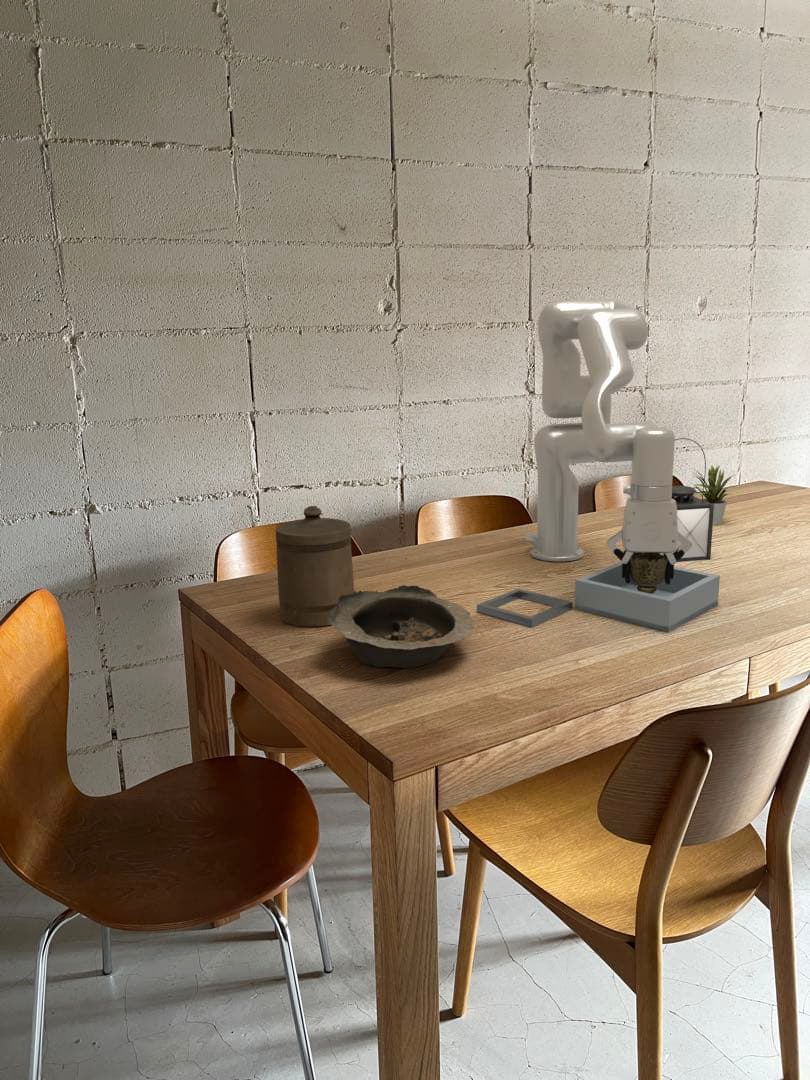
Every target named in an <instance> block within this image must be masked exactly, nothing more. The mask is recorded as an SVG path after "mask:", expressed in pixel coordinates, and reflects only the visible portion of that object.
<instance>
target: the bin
mask: <svg viewBox="0 0 810 1080" xmlns="http://www.w3.org/2000/svg"><path fill="white" fill-rule="evenodd" d="M720 579H721V576H720V575H718V574H714V573H709V572H704V571H703V572H702V571H698V570H692V569H687V568H682V567H676V566H674V577H673V579H670V584H666V582H665V580H664V579H663V581H662V582H661V583H660V584H659V585H657V586H656V588H657V590H656V592H655V593H653V594H649V593H645V592H640V591H638V590H637V586H638V585H637V584H636V583H634V581H633V580H632V578H631V574H630V583H626V581H625V578H622V561H621V560H620V561H618V562H616V563H613V564H610V565H608V566H606V567H604V568H602V569H599V570H596V571H594V572H591V573H590V574H587V575H583V576H581V577H579V578H576V579H575V582H574V583H575V587H574V591H575V592H574V610H577V611H581V612H585V613H590V614H594V615H597V616H600V617H605V618H610V619H613V620H616V621H617V620H618V621H621V622H626V623H629V624H633V625H636V626H640V627H645V628H649V629H653V630H656V631H662V632H665V633H670V632H672V631H674V630H676V629H677V628H679V627H681V626H682V625H685V624H686V623H688V622H690V621H691V620H693V619H695V618H697V617H699V616H700V615H702V614H705V612H707V611H710V610H711V609H713V608H714V607H716V606H718V605H719V595H720V594H719V593H720Z"/></svg>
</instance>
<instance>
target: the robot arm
mask: <svg viewBox="0 0 810 1080" xmlns="http://www.w3.org/2000/svg"><path fill="white" fill-rule="evenodd" d="M648 334H649V327H648V324H647V319H646V318H645V316H644V315H643V313H642V312H641V311H640V310H639V309H637V308H635V307H633V306H631V305H629V304H625V303H624V302H622V301H619V300H617V299H611V298H594V299H592V298H591V299H588V298H587V299H585V298H584V299H581V298H579V299H577V298H576V299H563V300H556V301H552V302H550V303H549V302H548V303H547V304H546V305H544V306H543V308H542V309H541V311H540V312H539V316H538V321H537V335H538V340H539V344H540V348H541V354H542V377H541V378H542V381H541V382H542V383H541V406H542V411H543V413H544V415H545V416H547V417H548V418H551V419H577V418H581V422H574V423H573V422H569V423H568V422H567V423H555V424H548V425H545V426H543V427H541V428H540V429H538V431H537V432H535V433H536V434H535V435H534V440H533V447H534V448H533V449H534V455H535V460H536V470H537V471H536V472H537V529H536V530H537V533H532V532H529V533H528V534H527V535H526V537H525V542H526V543H529V544H533V547H532V548H530V555H531V557H532V558H535V559H538V560H541V561H547V562H557V563H559V562H560V563H561V562H564V563H565V562H571V561H578V560H580V559H581V558H583V557H584V553H585V552H584V549H583V548H581V547H579V546H578V526H579V525H578V524H579V523H578V521H579V519H578V518H579V482H578V478H577V477H576V475H575V473H574V472H573V471H572V470H571V468H570V465H577V464H587V463H589V464H590V463H597V462H600V463H605V464H606V463H617V462H618V463H619V462H620V463H621V462H631V478H630V479H631V480H630V481H631V482H630V484H629V485H627V486H623V488H622V493H623V494H624V495H625V494H626V495H629V497H628V498H627V500H626V503H625V508H624V513H623V519H622V520H623V521H622V529H621V530H620V531H617V533H616V534H613V535H612V536H611V537H610V538H609V539H608V540H606V546H607V547H608V548H609V550H610V551H611V552H612V553H613V554H614V555H615V557H616V558H617V559H619V560H620V561H622V578H625V581H626V583H630V568H631V564H630V563H629V559H630V558H631V557H630V555H631V556H632V554H633V553H634V552H635V553H665V554H666V556H667V557H668V560H667V566H666V572H665V576H664V580H665V582H666V584H670V579H673V577H674V567H675V565H676V563H678V562H677V561H678V560H679V559H680V558H681V557H683V556H684V554H685V553H686V552H687V551H688V550H689V549H690V548H691V547H692V543H691V542H690V541H689V540H688V539H687V538H686V537H684V536H683V535H682V534H681V533H680V532H678V516H677V506H676V501H675V500H674V499H672V486H673V478H674V477H673V476H674V475H673V474H674V458H675V457H674V456H675V441H676V440H675V439H676V436H675V433H674V431H673V430H672V429H670V428H667V427H660V426H658V425H656V424H655V423H653V422H649V421H637V422H635V421H634V422H633V421H632V422H631V421H630V422H617V423H611V414H612V413H611V412H612V394H615V393H617V392H618V391H620V390H622V389H623V388H625V387H626V386H628V385H629V384H630V383H631V382H632V380H633V378H634V375H635V371H634V367H633V365H632V362H631V358H630V355H629V351H633V350H638V349H641V348H642V347H643V346H644V345H645V343H646V341H647V339H648ZM572 340H578V341H579V343H580V348H581V351H582V354H583V357H584V362H585V364H586V367H587V372H588V374H589V375H581V367H582V366H581V364H582V363H581V362H582V358H581V354H580V351H579V349H578V347H577V346H576V344H575V343H574V342H573V341H572ZM620 541H621V543H622V548H623V549H624V550H623V551H622V550H621V549H620V548H619V546H617V543H619V542H620ZM678 541H679V542H681V543H682V546H681V547H680V548H679V549H678V550H676V549H677V544H678ZM675 550H676V551H675ZM674 551H675V552H674ZM672 552H674V553H672Z"/></svg>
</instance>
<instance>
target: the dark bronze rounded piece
mask: <svg viewBox="0 0 810 1080" xmlns="http://www.w3.org/2000/svg"><path fill="white" fill-rule="evenodd" d="M630 557H631V558H630V559H629V563H630V564H631V568H630V574H631V578H632V580H633V581H634V583H636V584H637V585H638V586H637V590H638V591H640V592H645V593H649V594H653V593H655V592H656V590H657V588H656V586H657V585H659V584H660V583H661V582H662V581H663V579H664V576H665V572H666V566H667V560H668V557H667V556H666V554H665V553H664V555H661V554H660V553H635V552H634V553H633V554H632V556H631V555H630Z"/></svg>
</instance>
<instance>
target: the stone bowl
mask: <svg viewBox="0 0 810 1080" xmlns="http://www.w3.org/2000/svg"><path fill="white" fill-rule="evenodd" d="M327 619H328V622H329V624H331V625H330V626H333V627H334V628H335V629H336V630H337V631H338V632H339V633H340V634H342V635H343V636H344V637H345V638H346V641H347V643H348V644H349V646H350V647H351V650H352V653H353V654H354V655H355V657H356V658H357V660H359V661H360V662H361V663H362V664H364V665H369V666H371V665H372V666H373V667H375V668H384V669H385V668H387V667H393V668H402V669H403V668H404V669H407V670H414V669H417V668H419V667H420V666H423V665H424V666H425V665H427V664H431V663H433V662H436V661H438V660H439V658H440V657H441V655H442V654H443V653H444V652H445V651H446V650H447V649H448V648H449V647H450V645H451V644H452V643H456V642H457V641H460V640H463V639H464V638H465V637H467V635H468V634H469V633H471V631H472V630H473V629H475V625H474V624H475V623H474V621H473V620H472V619H471V612H469V611H468V610H467V609H466V608H464V607H463V606H462V605H460V604H458V603H455V602H451V601H450V600H447V599H443V598H439V597H438V596H437V594H435V593H434V592H432V590H431V589H426V588H424V587H420V586H418V585H400V586H398V587H394V588H392V589H391V588H390V589H387V590H385V591H383V592H382V591H380V592H379V591H378V590H376V591H375V590H371V591H370V590H364V591H361V590H358V591H356V590H354V593H353V594H349V595H347V596H344V595H342V596H341V597H340V598H339V600H338V603H337V605H335V607H334V608H333V609H332V610H330V611H329V613H328V614H327Z"/></svg>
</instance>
